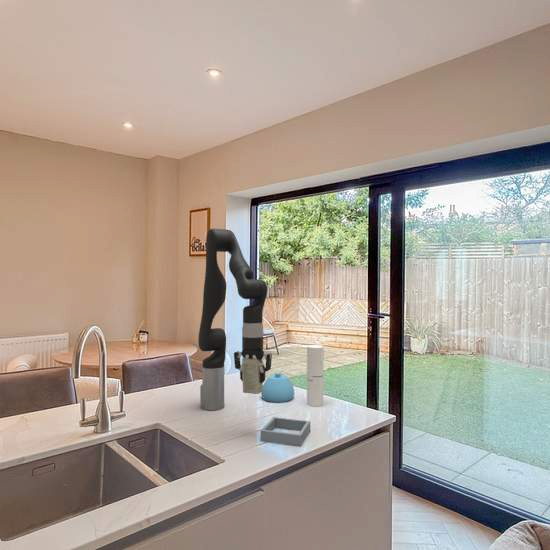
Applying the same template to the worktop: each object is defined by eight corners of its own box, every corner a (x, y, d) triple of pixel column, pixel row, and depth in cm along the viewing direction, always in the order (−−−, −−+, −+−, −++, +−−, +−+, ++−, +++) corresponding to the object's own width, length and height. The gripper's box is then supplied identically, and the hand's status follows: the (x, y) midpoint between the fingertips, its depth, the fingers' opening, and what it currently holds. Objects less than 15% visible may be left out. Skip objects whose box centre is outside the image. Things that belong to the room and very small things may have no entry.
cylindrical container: (322, 406, 175) (322, 348, 175) (306, 405, 176) (306, 347, 176) (324, 401, 182) (324, 345, 182) (308, 400, 183) (308, 344, 183)
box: (260, 440, 139) (260, 430, 139) (273, 426, 152) (273, 416, 152) (300, 446, 134) (300, 435, 134) (310, 430, 148) (310, 421, 148)
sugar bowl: (255, 401, 183) (255, 375, 183) (269, 392, 197) (269, 368, 197) (287, 405, 177) (287, 378, 177) (298, 395, 191) (298, 370, 191)
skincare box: (263, 391, 147) (263, 357, 148) (257, 394, 144) (257, 359, 144) (247, 389, 150) (247, 356, 150) (241, 392, 146) (241, 358, 146)
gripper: (229, 335, 146) (229, 382, 146) (268, 337, 141) (268, 386, 141) (238, 332, 153) (238, 377, 153) (275, 334, 148) (275, 380, 148)
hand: (252, 381), depth 147 cm, fingers closed on skincare box, 6 cm apart
